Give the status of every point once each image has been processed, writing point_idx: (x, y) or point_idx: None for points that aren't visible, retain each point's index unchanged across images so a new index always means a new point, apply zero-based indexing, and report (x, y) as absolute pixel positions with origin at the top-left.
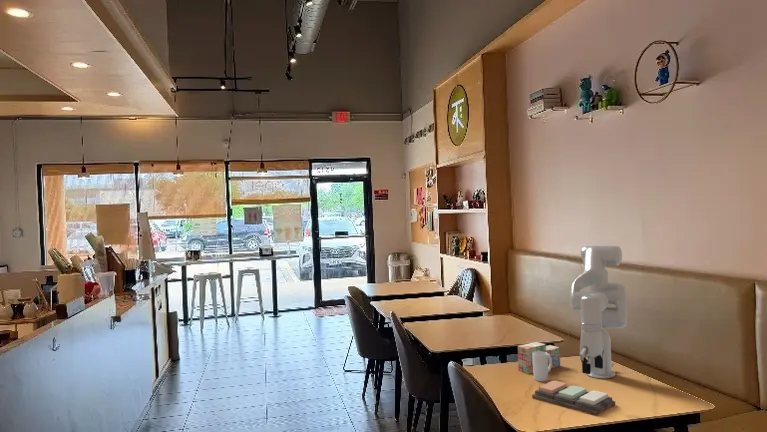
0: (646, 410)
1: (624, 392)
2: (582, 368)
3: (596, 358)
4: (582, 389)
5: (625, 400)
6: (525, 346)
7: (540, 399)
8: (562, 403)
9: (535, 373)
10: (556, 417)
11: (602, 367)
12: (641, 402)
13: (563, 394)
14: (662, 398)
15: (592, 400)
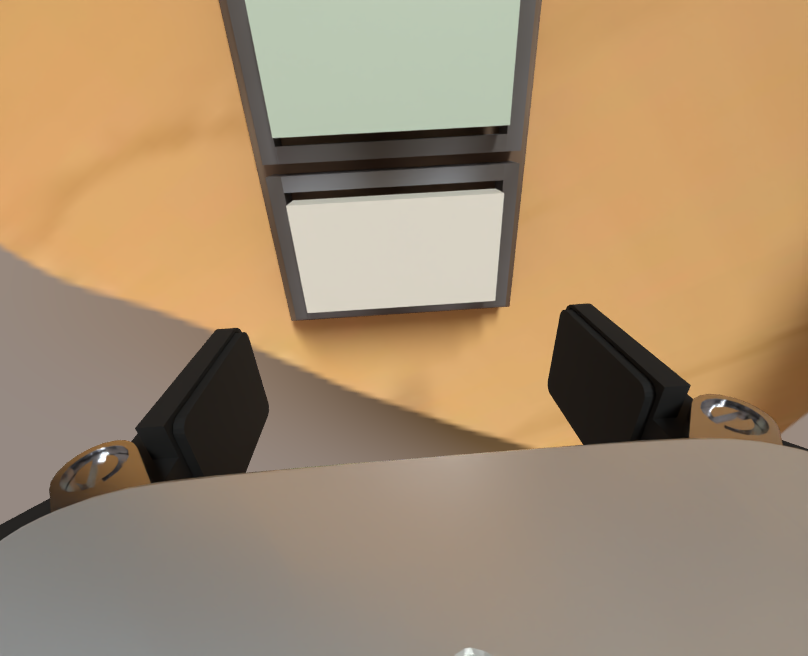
0: (520, 409)
1: (738, 232)
2: (196, 361)
3: (632, 416)
4: (465, 114)
5: (601, 298)
6: None
7: None
8: (235, 66)
9: None
10: (65, 165)
11: (558, 399)
12: None
13: (254, 34)
14: (709, 389)
15: (308, 301)
